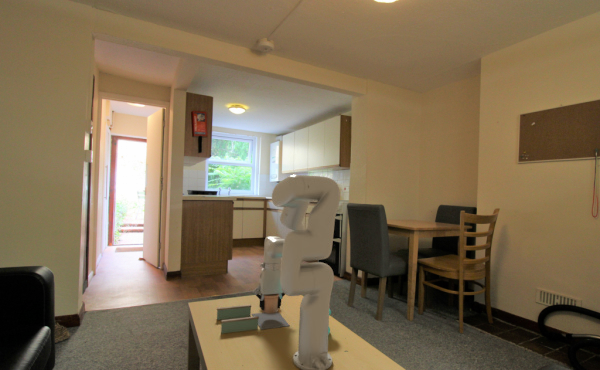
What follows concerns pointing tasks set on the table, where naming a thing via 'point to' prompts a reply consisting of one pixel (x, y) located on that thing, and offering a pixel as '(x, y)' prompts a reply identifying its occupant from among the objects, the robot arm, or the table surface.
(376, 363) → the table surface
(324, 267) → the robot arm
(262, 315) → the mat
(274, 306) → the seedling pot
